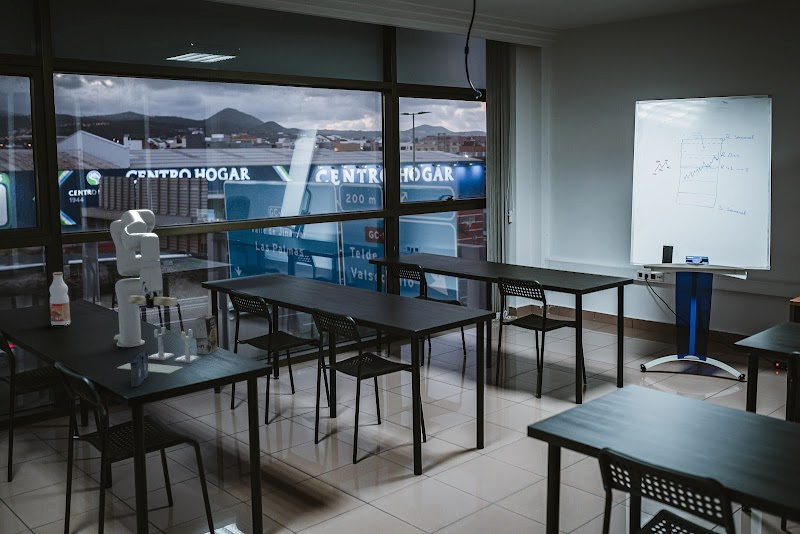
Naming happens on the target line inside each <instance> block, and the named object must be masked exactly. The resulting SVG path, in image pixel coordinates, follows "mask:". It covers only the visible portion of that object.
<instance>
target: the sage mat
mask: <svg viewBox="0 0 800 534" xmlns="http://www.w3.org/2000/svg"><path fill="white" fill-rule="evenodd" d="M130 363H131V362H128V363H126V364H125V363H124V364H122V365H120V366H118V367H116V368H117V369H120V370H129V371H131V367H130ZM181 369H184V366H177V365H166V364H159V363H158V364H157V363H150V362H148V373H158V374H166V375H167V374H168V375H170V374H172V373H175V372H177V371H179V370H181Z"/></svg>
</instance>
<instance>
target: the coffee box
mask: <svg viewBox="0 0 800 534" xmlns="http://www.w3.org/2000/svg"><path fill="white" fill-rule="evenodd" d="M217 337H218V336H217V315H202V316H199V317H196V318H195V342H196V344H195V345H196V346H195V347H196V350H195V351H196V354H200V355H201V354H202V355H210V354H212V353H214V352H215V351H218V340H217Z"/></svg>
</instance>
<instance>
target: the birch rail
mask: <svg viewBox="0 0 800 534" xmlns="http://www.w3.org/2000/svg"><path fill="white" fill-rule="evenodd" d="M128 298H129V303H130V304H138V305H146V299H145V296H136V295H132V296H128ZM152 299H153V303H154V305H159V306H166V307H167V306H168V307H175V306H177V305H178V297H168V296H160V297H154V296H152Z"/></svg>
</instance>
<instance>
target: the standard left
mask: <svg viewBox="0 0 800 534" xmlns="http://www.w3.org/2000/svg"><path fill="white" fill-rule="evenodd" d="M166 335H167V327H164V326H163V327H161V333H160V332H159V329H154V330H153V337H154V338H156V339H157V349H158V351H157V353H154V354H151V355H148V360H157V361H165V360H167V359H170V358H174V357H175V353H172V352H170V353H168V352H164V349H165V348H164V336H166Z"/></svg>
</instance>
